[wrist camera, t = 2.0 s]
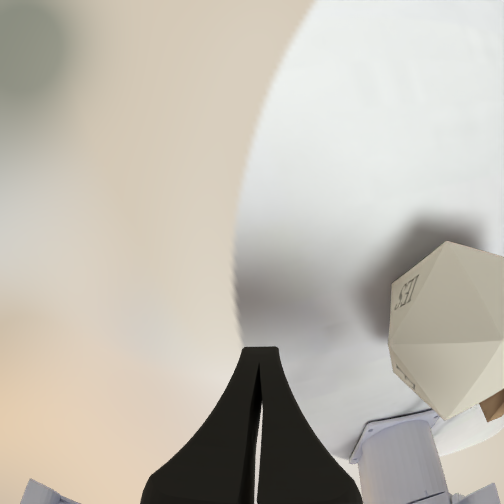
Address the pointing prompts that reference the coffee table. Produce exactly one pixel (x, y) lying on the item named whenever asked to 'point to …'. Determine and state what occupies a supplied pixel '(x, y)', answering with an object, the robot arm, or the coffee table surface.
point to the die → (450, 328)
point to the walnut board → (493, 406)
